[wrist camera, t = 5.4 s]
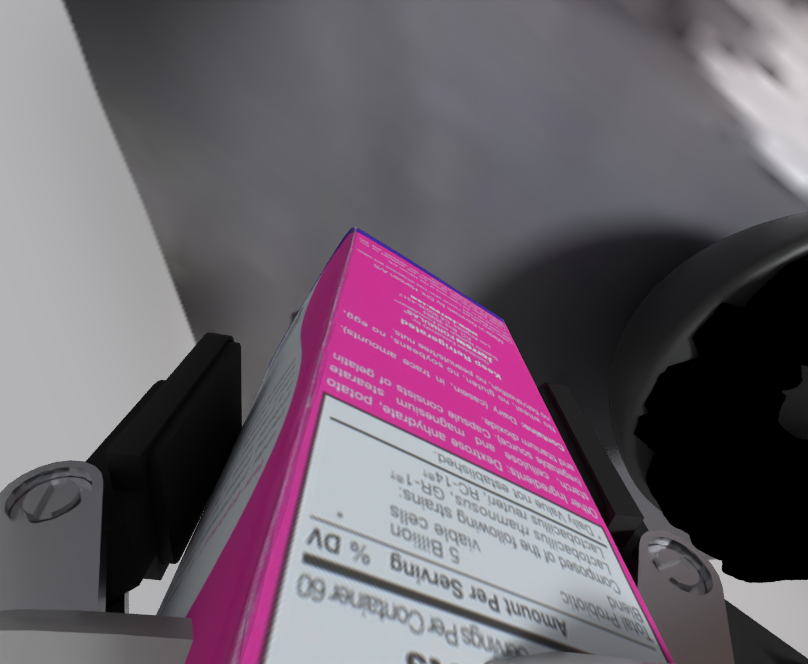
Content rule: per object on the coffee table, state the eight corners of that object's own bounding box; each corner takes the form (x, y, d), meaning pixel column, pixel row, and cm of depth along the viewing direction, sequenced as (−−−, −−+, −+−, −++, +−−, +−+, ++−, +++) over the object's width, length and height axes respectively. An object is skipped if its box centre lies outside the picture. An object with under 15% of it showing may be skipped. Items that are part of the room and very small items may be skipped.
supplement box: (412, 433, 16) (429, 1017, 6) (268, 361, 14) (-61, 991, 4) (513, 319, 13) (840, 968, 3) (353, 217, 12) (75, 865, 2)
